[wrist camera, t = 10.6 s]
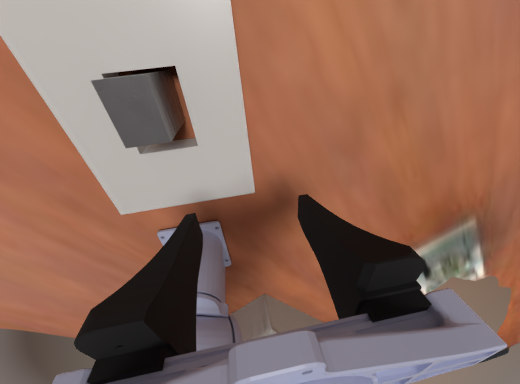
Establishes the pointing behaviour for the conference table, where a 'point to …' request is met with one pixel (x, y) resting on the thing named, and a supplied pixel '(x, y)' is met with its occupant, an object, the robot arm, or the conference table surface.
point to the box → (270, 318)
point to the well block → (136, 58)
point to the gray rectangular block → (142, 107)
